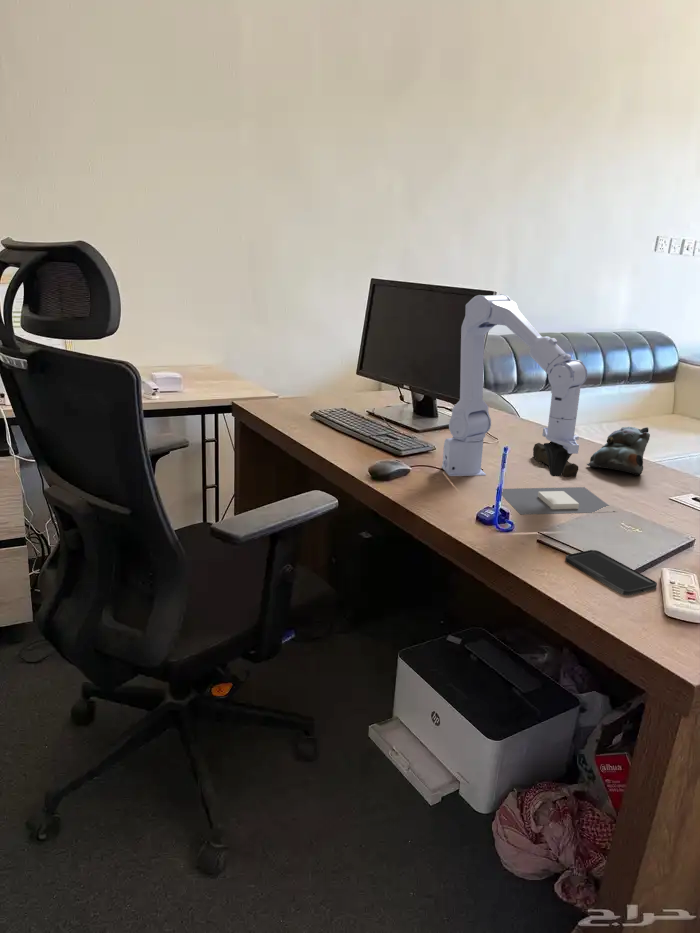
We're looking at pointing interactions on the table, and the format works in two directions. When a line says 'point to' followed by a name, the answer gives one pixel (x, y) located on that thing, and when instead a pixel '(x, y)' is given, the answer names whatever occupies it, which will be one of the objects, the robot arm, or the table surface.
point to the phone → (611, 572)
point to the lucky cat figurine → (623, 451)
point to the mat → (532, 504)
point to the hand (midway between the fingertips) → (555, 475)
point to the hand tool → (541, 456)
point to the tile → (558, 500)
